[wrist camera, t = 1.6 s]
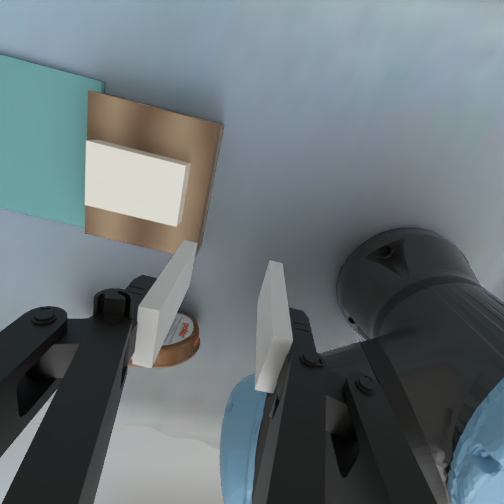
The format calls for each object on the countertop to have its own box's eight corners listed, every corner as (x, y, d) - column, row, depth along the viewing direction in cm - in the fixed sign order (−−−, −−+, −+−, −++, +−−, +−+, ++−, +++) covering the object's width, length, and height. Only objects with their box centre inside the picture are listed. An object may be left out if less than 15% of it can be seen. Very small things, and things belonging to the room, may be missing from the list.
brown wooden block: (224, 124, 31) (219, 124, 28) (201, 245, 37) (194, 259, 33) (109, 94, 30) (87, 90, 27) (103, 222, 36) (84, 233, 32)
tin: (98, 321, 42) (60, 366, 34) (94, 302, 41) (54, 344, 33) (205, 327, 42) (192, 374, 34) (205, 308, 40) (191, 352, 33)
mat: (104, 82, 30) (101, 81, 30) (98, 228, 36) (95, 230, 36) (-82, 32, 29) (-89, 30, 28) (-56, 192, 35) (-61, 193, 35)
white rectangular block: (190, 163, 29) (185, 165, 27) (181, 220, 31) (176, 226, 29) (97, 139, 28) (86, 140, 27) (95, 200, 31) (84, 204, 29)
